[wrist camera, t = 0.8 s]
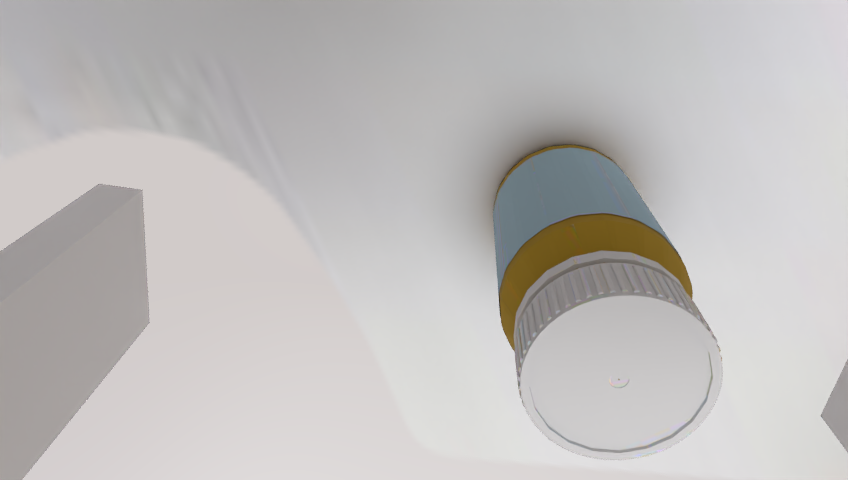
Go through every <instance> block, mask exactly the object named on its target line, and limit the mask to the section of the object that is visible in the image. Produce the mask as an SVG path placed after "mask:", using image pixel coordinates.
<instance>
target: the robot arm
mask: <svg viewBox="0 0 848 480" xmlns="http://www.w3.org/2000/svg"><path fill="white" fill-rule="evenodd" d="M148 324H149V307H148V287H147V269H146V250H145V232H144V213H143V196H142V190H139V189H132V188H124V187H118V186H110V185H103V184H98V185H97V186H95V187H94V188H92V189H91V190H89V191H88V192H86V193H85V194H84V195H82V196H81V197H79V198H78V199H76V200H75V201H73V202H72V203H70V204H69V205H68V206H66V207H65V208H63V209H62V210H60V211H59V212H57V213H56V214H54V215H53V216H51V217H50V218H48V219H47V220H45V221H44V222H43V223H41V224H40V225H38V226H37V227H35V228H34V229H32V230H31V231H29V232H28V233H26V234H25V235H24V236H22V237H21V238H19V239H18V240H16V241H15V242H13V243H12V244H11V245H9V246H7V247H6V248H4V249H3V250H2V251H0V480H22V479H23V478H24V477H25V475H26V474H27V473H28V472H29V471H30V469H31V468H32V467H33V465H34V464H35V463H36V462H37V461H38V459H39V458H40V457H41V456H42V454H43V453H44V452H45V451H46V450H47V448H48V447H49V446H50V445H51V443H52V442H53V441H54V440H55V438H56V437H57V436H58V435H59V434H60V432H61V431H62V430H63V429H64V427H65V426H66V425H67V424H68V422H69V421H70V420H71V419H72V418H73V416H74V415H75V414H76V413H77V411H78V410H79V409H80V408H81V406H82V405H83V404H84V403H85V401H86V400H87V399H88V398H89V397H90V395H91V394H92V393H93V392H94V390H95V389H96V388H97V387H98V385H99V384H100V383H101V382H102V381H103V379H104V378H105V377H106V376H107V374H108V373H109V372H110V371H111V369H112V368H113V367H114V365H115V364H116V363H117V362H118V361H119V360H120V358H121V357H122V356H123V355H124V353H125V352H126V351H127V350H128V348H129V347H130V346H131V345H132V344H133V342H134V341H135V340H136V339H137V337H138V336H139V335H140V334H141V332H142V331H143V330H144V329H145V327H146V326H147V325H148ZM821 417H822V418H823V420H824V421H825V422H826V424H827V425H828V426H829V428H830V429H831V430H832V432H833V433H834V435H835V436H836V437H837V439H838V440H839V441H840V443H841V444H842V445H843V447H844V448H845V449H846V451H847V452H848V360H847V362H846V364H845V366H844V368H843V370H842V372H841V374H840V376H839V378H838V380H837V383H836V385H835V387H834V389H833V391H832V393H831V395H830V397H829V399H828V401H827V404H826V406H825V408H824V410H823V412H822V414H821Z"/></svg>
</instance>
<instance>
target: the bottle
mask: <svg viewBox="0 0 848 480" xmlns="http://www.w3.org/2000/svg"><path fill="white" fill-rule="evenodd" d="M493 221H494V235H495V250H496V264H497V278H498V293H499V306H500V316H501V323H502V327H503V330H504V332H505V335H506V337H507V339H508V341H509V343H510V345H511V347H512V349H513V350H514V351H515V360H516V370H517V380H518V389H519V392H520V398H521V399H522V403H523V406H524V407H525V409H526V411H527V414H528V415H529V417H530V418H531V420H532V421H533V423H534V424H535V426H536V427H537V428H538V429H539V430H540V431H541V432H542V433H543V434H544V435H545V436H546V437H547V438H549V439H550V440H551V441H553V442H554V443H556V444H557V445H559V446H560V447H562V448H564V449H566V450H568V451H571V452H573V453H576V454H579V455H582V456H586V457H590V458H595V459H603V460H626V459H634V458H640V457H644V456H648V455H652V454H655V453H658V452H660V451H663V450H665V449H667V448H669V447H671V446H673V445H675V444H677V443H679V442H680V441H682V440H683V439H685V438H686V437H687V436H689V435H690V434H691V433H692V432H694V431H695V430H696V429H697V428H698V427H699V426H700V425H701V424H702V423H703V421H704V420H705V419H706V418H707V416H708V415H709V413H710V412H711V410H712V409H713V407H714V405H715V403H716V401H717V398H718V396H719V393H720V389H721V385H722V377H723V367H722V357H721V355H720V348H719V346H718V345H717V340H716V338H715V336H714V335H713V332H712V331H711V329H710V327H709V326H708V324H707V323H706V321H705V319H704V318H703V316H702V315H701V313H700V311H699V310H698V308H697V306H696V305H695V303H694V302H693V301H692V285H691V282H690V279H689V276H688V273H687V270H686V267H685V265H684V263H683V262H682V260H681V257H680V256H679V254H678V252H677V251H676V249H675V248H674V246H673V245H672V243H671V242H670V240H669V239H668V237H667V236H666V234H665V233H664V231H663V230H662V228H661V227H660V225H659V224H658V222H657V221H656V219H655V218H654V216H653V215H652V213H651V212H650V210H649V209H648V207H647V206H646V204H645V203H644V201H643V200H642V198H641V197H640V195H639V194H638V192H637V191H636V189H635V188H634V186H633V185H632V183H631V182H630V180H629V179H628V177H627V176H626V175H625V174H624V173H623V171H622V170H621V169H620V168H619V167H618V166H617V164H616V163H615V162H614V161H612V160H611V159H610V158H608V157H607V156H605V155H603V154H601V153H600V152H598V151H596V150H594V149H591V148H586V147H581V146H577V145H561V146H551V147H547V148H544V149H542V150H540V151H537V152H535V153H532V154H530V155H528V156H527V157H525V158H524V159H523V160H521V161H520V162H519V163H518V164H516V165H515V166H514V167H513V168H512V169H511V170H510V171H509V172H508V174H507V175H506V177H505V178H504V180H503V181H502V183H501V185H500V186H499V189H498V191H497V195H496V199H495V203H494V209H493Z"/></svg>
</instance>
